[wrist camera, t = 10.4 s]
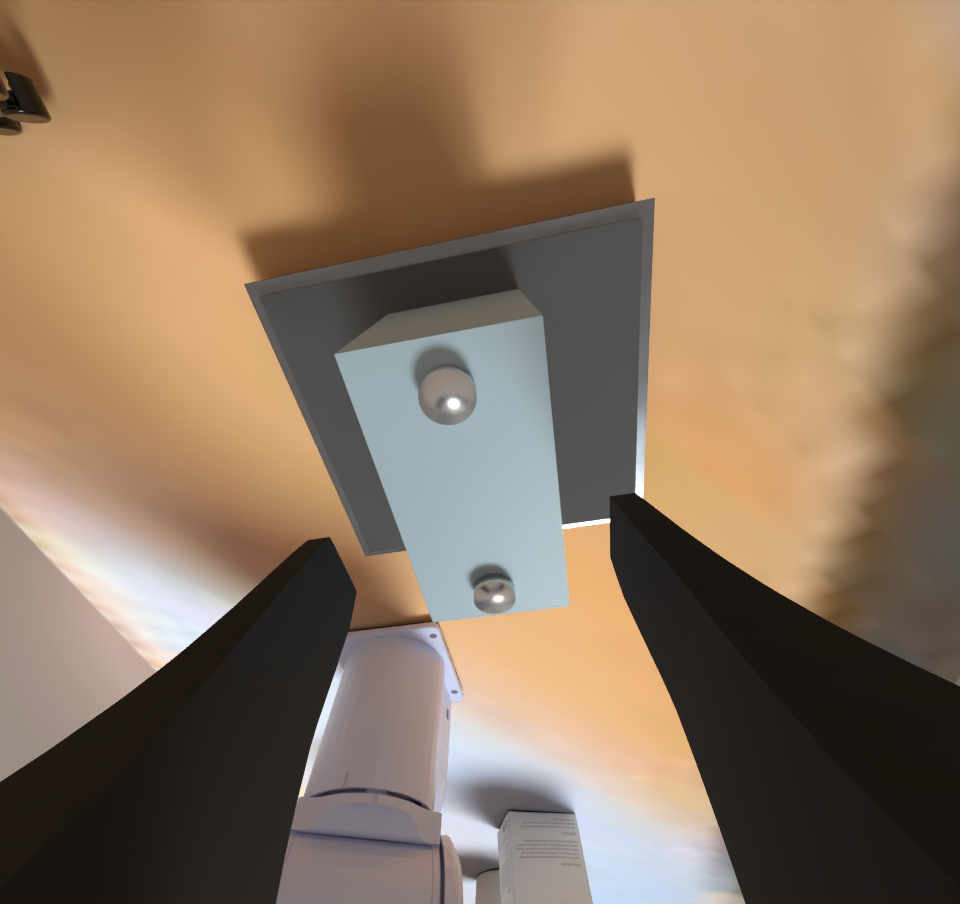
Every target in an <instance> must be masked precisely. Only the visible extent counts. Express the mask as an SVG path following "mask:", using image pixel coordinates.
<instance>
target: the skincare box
mask: <svg viewBox="0 0 960 904" xmlns="http://www.w3.org/2000/svg"><path fill="white" fill-rule="evenodd" d="M497 835H498V853H499V872H500V892H501V904H593V902H592V897H591V892H590V887H589V882H588V876H587V871H586V866H585V861H584V856H583V851H582V846H581V840H580V835H579V830H578V825H577V820H576V815H575V814H568V813H538V812H514V811H508V813H507V814H506V816H505V818H504V820H503V823H502V825H501V827H500V829H499V831H498V834H497Z"/></svg>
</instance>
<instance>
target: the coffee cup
mask: <svg viewBox="0 0 960 904" xmlns="http://www.w3.org/2000/svg"><path fill="white" fill-rule="evenodd" d="M476 904H501V892H500V872H499V870H491V871H487V872H484V873H482V874H480V875H479V876H478V878H477V883H476Z"/></svg>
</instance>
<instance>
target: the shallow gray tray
mask: <svg viewBox="0 0 960 904" xmlns="http://www.w3.org/2000/svg"><path fill="white" fill-rule="evenodd" d="M654 202H655V198H651V199H646V200H642V201H637V202H632V203H627V204H623V205H618V206H613V207H608V208H604V209H599V210H594V211H589V212H585V213H580V214H575V215H570V216H566V217H561V218H556V219H551V220H547V221H542V222H537V223H532V224H528V225H523V226H518V227H513V228H509V229H504V230H499V231H494V232H490V233H485V234H480V235H475V236H471V237H466V238H461V239H456V240H452V241H447V242H442V243H437V244H433V245H428V246H423V247H418V248H414V249H409V250H404V251H399V252H395V253H390V254H385V255H380V256H376V257H371V258H366V259H361V260H357V261H352V262H347V263H342V264H338V265H333V266H328V267H323V268H319V269H314V270H309V271H304V272H300V273H295V274H290V275H285V276H281V277H276V278H271V279H266V280H262V281H257V282H252V283H247V284H244V285H245V288H246V290H247V292H248V294H249V296H250V299H251V301H252V303H253V305H254V308H255V310H256V312H257V314H258V317H259V319H260V321H261V323H262V325H263V328H264V330H265V332H266V334H267V337H268V339H269V341H270V343H271V346H272V348H273V350H274V352H275V354H276V357H277V359H278V361H279V363H280V366H281V368H282V370H283V372H284V375H285V377H286V379H287V381H288V384H289V386H290V388H291V390H292V392H293V395H294V397H295V399H296V401H297V404H298V406H299V408H300V410H301V413H302V415H303V417H304V419H305V421H306V424H307V426H308V428H309V430H310V433H311V435H312V437H313V439H314V442H315V444H316V446H317V448H318V450H319V453H320V455H321V457H322V459H323V462H324V464H325V466H326V468H327V471H328V473H329V475H330V477H331V479H332V482H333V484H334V486H335V488H336V491H337V493H338V495H339V497H340V500H341V502H342V504H343V506H344V509H345V511H346V513H347V515H348V517H349V520H350V522H351V524H352V526H353V529H354V531H355V533H356V535H357V538H358V540H359V542H360V544H361V546H362V549H363V551H364V553H365V555H366V556H371V555H378V554H385V553H392V552H399V551H406V548H405V545H404V542H403V540H402V537H401V534H400V532H399V529H398V526H397V523H396V521H395V518H394V515H393V513H392V510H391V507H390V504H389V502H388V499H387V496H386V494H385V491H384V488H383V485H382V483H381V480H380V477H379V475H378V472H377V469H376V467H375V464H374V461H373V458H372V456H371V453H370V450H369V448H368V445H367V442H366V439H365V437H364V434H363V431H362V429H361V426H360V423H359V420H358V418H357V415H356V412H355V410H354V407H353V404H352V401H351V399H350V396H349V393H348V391H347V388H346V385H345V382H344V380H343V377H342V374H341V372H340V369H339V366H338V363H337V361H336V358H335V355H334V354H335V353H336V352H338V351H339V350H341V349H342V348H343V347H345V346H346V345H347V344H349V343H350V342H351V341H353V340H354V339H355V338H357V337H358V336H359V335H361V334H362V333H363V332H365V331H366V330H367V329H369V328H370V327H371V326H373V325H374V324H375V323H377V322H378V321H379V320H381V319H382V318H383V317H385V316H386V315H387V314H391V313H396V312H401V311H406V310H411V309H417V308H422V307H427V306H432V305H437V304H443V303H448V302H453V301H458V300H463V299H468V298H474V297H479V296H484V295H489V294H494V293H500V292H505V291H510V290H515V289H519V290H520V291H521V292H522V293H523V294H524V295H525V297H526V298H527V299H528V300H529V301H530V302H531V303H532V304H533V305H534V306H535V307H536V309H537V310H538V311H539V312H540V313H541V314H542V315H543V323H544V334H545V345H546V355H547V366H548V377H549V388H550V399H551V410H552V421H553V431H554V442H555V453H556V464H557V475H558V486H559V497H560V507H561V518H562V529H564V528H571V527H578V526H586V525H593V524H600V523H607V522H610V496H616V495H622V494H629V493H636V494H637V495H639V496H640V497H641V498H643V488H644V462H645V436H646V410H647V384H648V358H649V332H650V306H651V280H652V254H653V228H654Z"/></svg>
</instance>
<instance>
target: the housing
mask: <svg viewBox="0 0 960 904" xmlns="http://www.w3.org/2000/svg"><path fill="white" fill-rule="evenodd" d="M334 355H335V358H336V361H337V363H338V366H339V369H340V372H341V374H342V377H343V380H344V382H345V385H346V388H347V391H348V393H349V396H350V399H351V401H352V404H353V407H354V410H355V412H356V415H357V418H358V420H359V423H360V426H361V429H362V431H363V434H364V437H365V439H366V442H367V445H368V448H369V450H370V453H371V456H372V458H373V461H374V464H375V467H376V469H377V472H378V475H379V477H380V480H381V483H382V485H383V488H384V491H385V494H386V496H387V499H388V502H389V504H390V507H391V510H392V513H393V515H394V518H395V521H396V523H397V526H398V529H399V532H400V534H401V537H402V540H403V542H404V545H405V548H406V551H407V553H408V556H409V559H410V561H411V564H412V567H413V570H414V572H415V575H416V578H417V580H418V583H419V586H420V589H421V591H422V594H423V597H424V599H425V602H426V605H427V608H428V610H429V613H430V616H431V618H432V621H433V622H441V621H449V620H458V619H466V618H474V617H483V616H491V615H499V614H508V613H516V612H524V611H533V610H541V609H550V608H558V607H566V606H570V605H569V594H568V584H567V573H566V562H565V551H564V540H563V529H562V518H561V507H560V497H559V486H558V475H557V464H556V453H555V442H554V431H553V421H552V410H551V399H550V388H549V377H548V366H547V355H546V345H545V334H544V323H543V315H542V314H541V313H540V312H539V311H538V310H537V309H536V307H535V306H534V305H533V304H532V303H531V302H530V301H529V300H528V299H527V298H526V297H525V295H524V294H523V293H522V292H521V291H520V290H519V289H515V290H510V291H505V292H500V293H494V294H489V295H484V296H479V297H474V298H468V299H463V300H458V301H453V302H448V303H443V304H437V305H432V306H427V307H422V308H417V309H411V310H406V311H401V312H396V313H391V314H387V315H386V316H385V317H383V318H382V319H381V320H379V321H378V322H377V323H375V324H374V325H373V326H371V327H370V328H369V329H367V330H366V331H365V332H363V333H362V334H361V335H359V336H358V337H357V338H355V339H354V340H353V341H351V342H350V343H349V344H347V345H346V346H345V347H343V348H342V349H341V350H339V351H338V352H336V353H335V354H334Z"/></svg>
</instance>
